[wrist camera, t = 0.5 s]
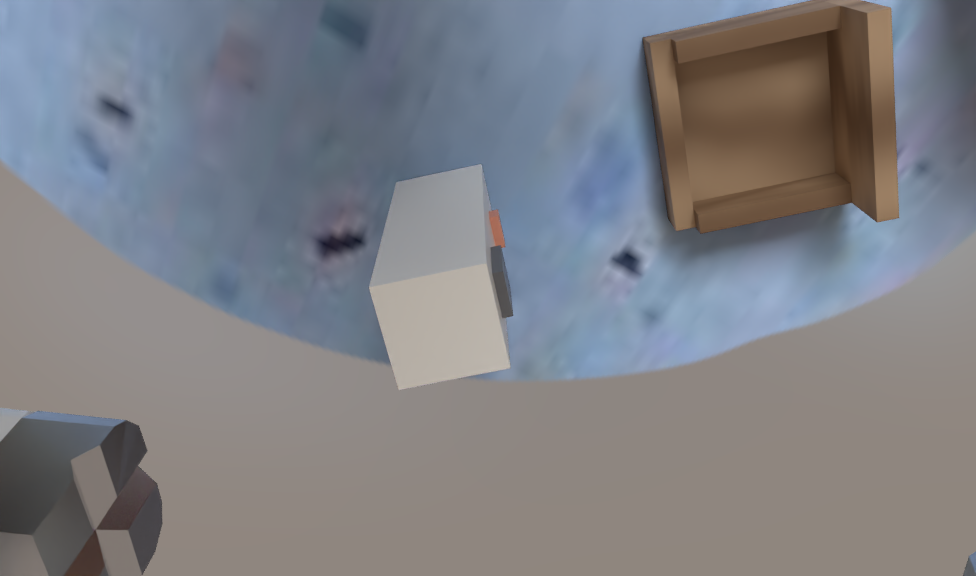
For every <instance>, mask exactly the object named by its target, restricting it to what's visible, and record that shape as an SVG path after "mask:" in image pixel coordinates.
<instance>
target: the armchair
mask: <svg viewBox="0 0 976 576" xmlns="http://www.w3.org/2000/svg"><path fill="white" fill-rule="evenodd" d="M643 45H644V52H645V59H646V66H647V73H648V80H649V87H650V94H651V101H652V108H653V115H654V122H655V129H656V136H657V143H658V150H659V157H660V164H661V171H662V178H663V185H664V192H665V199H666V206H667V213H668V219H669V221H670V222H671V224H672V225H673V227H674V228H675V230H676V231H679V230H684V229H689V228H694V227H696V228H697V230H698V231H699V232H700V234H701V233H706V232H711V231H716V230H721V229H726V228H731V227H736V226H740V225H745V224H750V223H755V222H760V221H765V220H770V219H775V218H779V217H784V216H789V215H794V214H799V213H804V212H809V211H814V210H819V209H823V208H828V207H833V206H838V205H843V204H848V203H853V204H854V205H856V206H857V207H858V208H859V209H861V210H862V211H863V212H865V213H866V214H867V215H868V216H870V217H871V218H872V219H874V220H875V221H876V222H881V221H886V220H891V219H896V218H899V203H898V177H897V150H896V123H895V96H894V69H893V43H892V16H891V8H890V7H886V6H882V5H878V4H874V3H870V2H866V1H861V0H811V1H807V2H802V3H798V4H793V5H788V6H784V7H779V8H775V9H770V10H766V11H761V12H757V13H752V14H748V15H743V16H738V17H734V18H729V19H725V20H720V21H716V22H711V23H707V24H702V25H697V26H693V27H688V28H684V29H679V30H675V31H670V32H666V33H661V34H657V35H652V36H647V37H643Z"/></svg>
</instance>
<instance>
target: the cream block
mask: <svg viewBox="0 0 976 576" xmlns="http://www.w3.org/2000/svg"><path fill="white" fill-rule="evenodd" d="M503 247H505V240H504V235H503V231H502V226H501V221H500V217H499V212H498V210H493V211H492V209H491V204H490V200H489V195H488V191H487V186H486V182H485V177H484V173H483V168H482V164H478V165H474V166H469V167H464V168H460V169H455V170H450V171H446V172H441V173H436V174H431V175H427V176H422V177H417V178H413V179H408V180H403V181H399V182H396V185H395V189H394V193H393V197H392V201H391V204H390V208H389V212H388V216H387V220H386V224H385V227H384V231H383V235H382V239H381V243H380V247H379V250H378V254H377V258H376V262H375V266H374V270H373V274H372V277H371V281H370V285H369V290H370V293H371V297H372V300H373V304H374V307H375V310H376V314H377V317H378V321H379V324H380V328H381V331H382V335H383V338H384V342H385V345H386V349H387V352H388V356H389V359H390V363H391V366H392V369H393V373H394V376H395V379H396V383H397V387H398V390H403V389H408V388H413V387H418V386H423V385H428V384H433V383H438V382H443V381H448V380H453V379H458V378H463V377H468V376H473V375H478V374H483V373H489V372H494V371H499V370H504V369H509V368H510V356H509V345H508V334H507V323H506V317H511V316H513V310H512V300H511V291H510V285H509V280H508V276H507V271H506V267H505V262H504V258H503V253H502V249H501V248H503Z"/></svg>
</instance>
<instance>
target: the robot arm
mask: <svg viewBox="0 0 976 576" xmlns="http://www.w3.org/2000/svg"><path fill="white" fill-rule="evenodd" d="M146 452H147V448H146V445H145V442H144V439H143V436H142V433H141V431H140V428H139V426H138V425H136V424H134V423H131V422H129V421H127V420H119V419H110V418H100V417H90V416H81V415H72V414H61V413H53V412H43V411H37V412H31V411H23V410H13V409H5V408H0V576H142V575H143V573H144V571H145V569H146V568H147V566H148V564H149V562H150V560H151V558H152V557H153V555H154V553H155V550H156V547H157V543H158V538H159V535H160V531H161V527H162V500H161V496H160V493H159V489H158V485H157V483H156V482H155V481H154V480H153V479H152V478H150V477H149V476H148V475H147V474H146V473H145V472H144V471H143V470H142V469H141V468H140V467H139V466H138V465H139V463H140V462H141V460H142V459H143V457H144V455H145V454H146ZM963 576H976V552H975V553H973V554H971V555H970V556H969V558H968V561H967V564H966V567H965V571H964V574H963Z"/></svg>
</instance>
